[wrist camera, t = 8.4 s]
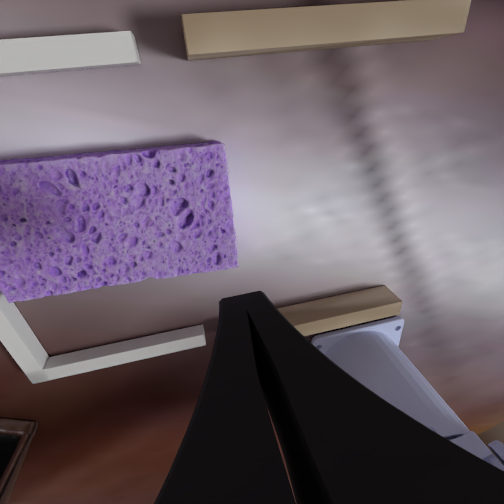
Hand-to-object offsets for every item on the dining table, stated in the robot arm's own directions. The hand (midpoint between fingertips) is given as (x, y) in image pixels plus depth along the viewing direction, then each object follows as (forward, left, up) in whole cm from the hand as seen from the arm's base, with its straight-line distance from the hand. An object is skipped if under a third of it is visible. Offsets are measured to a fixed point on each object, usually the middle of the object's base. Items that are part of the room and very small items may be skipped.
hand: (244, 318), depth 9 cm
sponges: (+1, +5, -9) cm, 11 cm away
